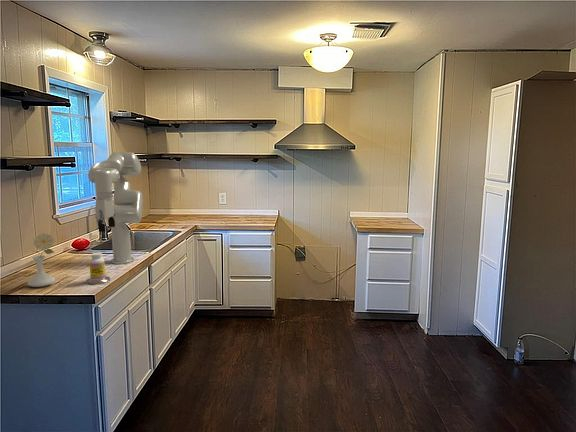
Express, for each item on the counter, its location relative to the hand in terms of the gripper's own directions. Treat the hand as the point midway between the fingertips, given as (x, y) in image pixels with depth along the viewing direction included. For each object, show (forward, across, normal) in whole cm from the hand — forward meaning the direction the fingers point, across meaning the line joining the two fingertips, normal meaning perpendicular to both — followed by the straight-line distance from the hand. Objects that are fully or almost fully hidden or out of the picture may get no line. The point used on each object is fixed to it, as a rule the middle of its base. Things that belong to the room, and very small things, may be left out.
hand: (107, 229), depth 208 cm
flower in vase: (+24, +17, -24) cm, 38 cm away
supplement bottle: (+23, +9, -2) cm, 25 cm away
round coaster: (+24, +9, -2) cm, 26 cm away
